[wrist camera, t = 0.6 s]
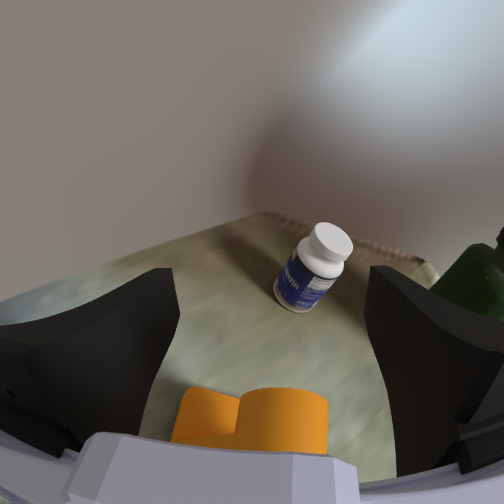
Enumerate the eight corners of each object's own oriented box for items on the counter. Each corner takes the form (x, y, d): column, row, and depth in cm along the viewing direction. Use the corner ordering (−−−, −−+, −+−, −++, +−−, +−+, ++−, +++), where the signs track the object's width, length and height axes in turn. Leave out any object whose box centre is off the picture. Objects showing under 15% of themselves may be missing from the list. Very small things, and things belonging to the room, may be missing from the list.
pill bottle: (266, 275, 39) (303, 214, 32) (305, 278, 41) (344, 222, 35) (278, 314, 35) (322, 254, 28) (319, 315, 37) (365, 260, 31)
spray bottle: (378, 326, 39) (504, 184, 23) (415, 314, 44) (519, 197, 29) (413, 390, 33) (565, 257, 17) (446, 366, 38) (566, 255, 22)
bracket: (294, 422, 26) (377, 369, 18) (287, 493, 20) (382, 474, 13) (181, 393, 24) (219, 324, 17) (161, 469, 19) (189, 449, 11)
